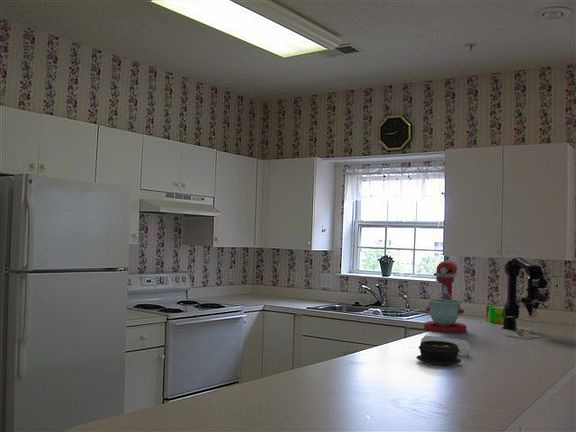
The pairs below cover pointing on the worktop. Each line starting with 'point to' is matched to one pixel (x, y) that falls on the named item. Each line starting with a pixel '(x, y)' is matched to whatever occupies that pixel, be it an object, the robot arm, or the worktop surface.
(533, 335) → the board
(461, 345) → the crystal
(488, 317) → the puzzle toy
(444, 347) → the casserole
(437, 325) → the stand mixer
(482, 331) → the worktop surface
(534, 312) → the brown rounded lump
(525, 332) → the oak block
